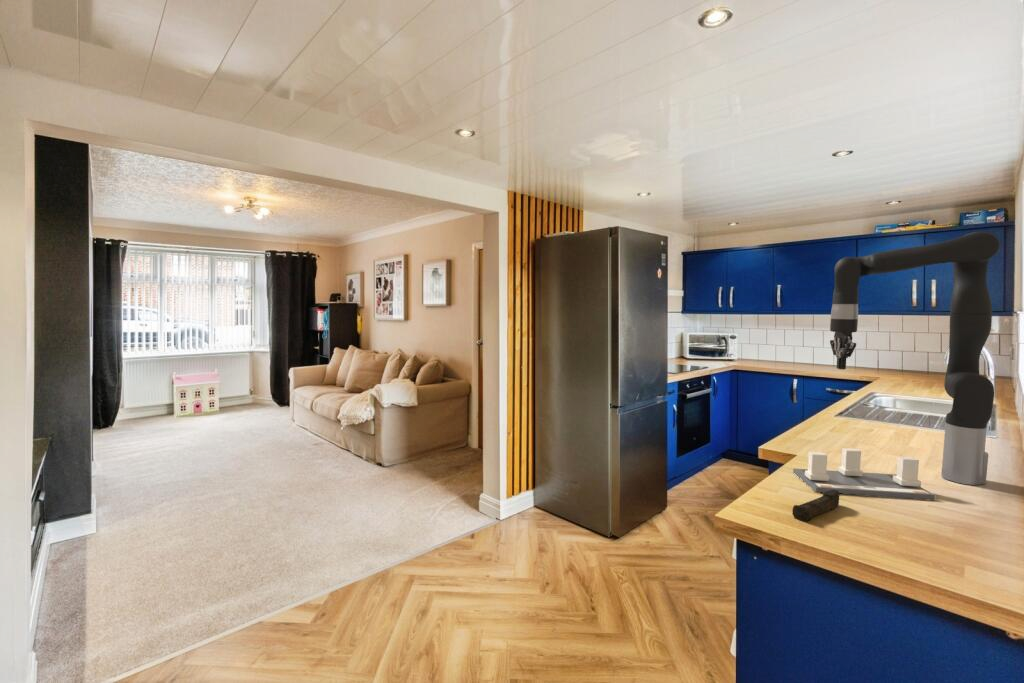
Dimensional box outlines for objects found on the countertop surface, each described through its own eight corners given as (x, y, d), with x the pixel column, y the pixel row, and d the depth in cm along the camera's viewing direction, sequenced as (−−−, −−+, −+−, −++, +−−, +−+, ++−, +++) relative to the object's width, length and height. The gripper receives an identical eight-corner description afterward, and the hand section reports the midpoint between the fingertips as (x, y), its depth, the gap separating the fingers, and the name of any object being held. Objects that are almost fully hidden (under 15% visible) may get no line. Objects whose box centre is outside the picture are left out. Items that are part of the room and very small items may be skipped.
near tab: (911, 481, 142) (913, 456, 141) (920, 486, 138) (922, 461, 137) (892, 480, 143) (894, 455, 142) (901, 485, 139) (903, 460, 138)
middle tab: (855, 471, 150) (857, 448, 149) (862, 476, 146) (864, 452, 145) (838, 470, 151) (839, 447, 150) (844, 475, 147) (846, 451, 146)
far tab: (822, 476, 146) (824, 451, 145) (828, 481, 142) (830, 456, 141) (804, 475, 147) (806, 451, 146) (810, 479, 143) (811, 455, 142)
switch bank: (898, 479, 149) (898, 474, 149) (934, 500, 133) (934, 494, 133) (793, 473, 154) (793, 467, 154) (815, 492, 138) (816, 486, 138)
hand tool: (807, 524, 118) (808, 506, 118) (791, 518, 122) (792, 500, 122) (849, 509, 127) (850, 492, 127) (833, 503, 131) (834, 487, 131)
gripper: (867, 318, 154) (864, 372, 156) (846, 317, 167) (843, 366, 169) (841, 318, 155) (838, 371, 157) (822, 317, 168) (819, 366, 170)
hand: (841, 369), depth 163 cm, fingers closed
